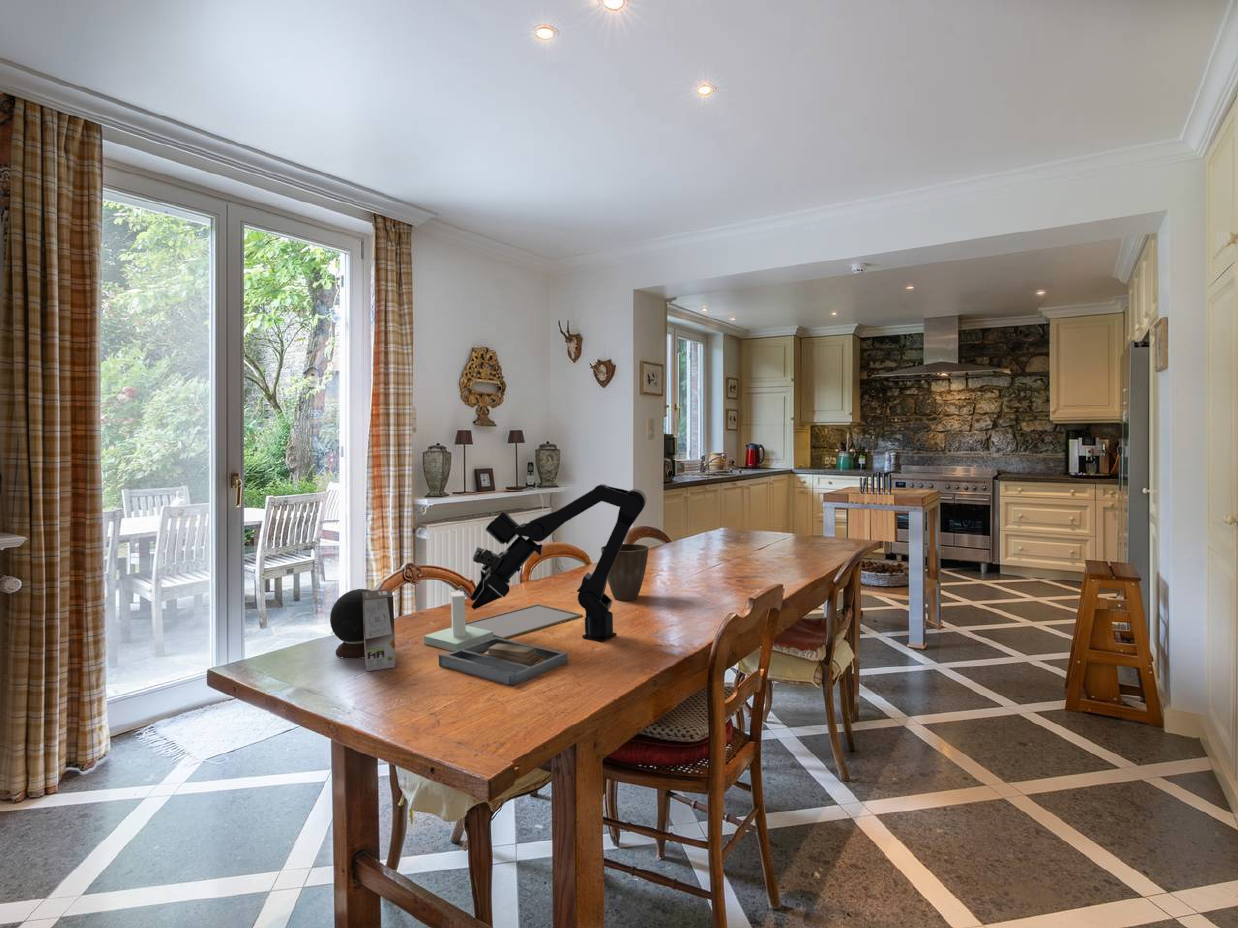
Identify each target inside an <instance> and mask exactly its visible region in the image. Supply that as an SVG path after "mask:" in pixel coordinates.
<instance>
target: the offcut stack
mask: <svg viewBox="0 0 1238 928" xmlns="http://www.w3.org/2000/svg"><path fill="white" fill-rule="evenodd" d="M482 654H483V655H487V656H491V657H495V658H499V659H503V660H507V661H511V662H515V663H519V664H523V665H527V666H533V665H534V664H535V663H536V662H537V663H539V662H540V657H536V651H535V647H526V646H517V645H508V644H499V643H497V644H495V645H493V646H491V647H489V648H488V650H486V651H484V653H482ZM538 661H539V662H538ZM537 663H536V664H537ZM536 664H535V665H536Z"/></svg>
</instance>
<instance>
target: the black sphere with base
mask: <svg viewBox="0 0 1238 928" xmlns="http://www.w3.org/2000/svg"><path fill="white" fill-rule="evenodd" d="M367 591H372V590H370V589H365V588H358V589H357V588H356V589H353V590H350V591H347V592H345V593H344V594H342V595H341V596H339V598H338V599H337V600H336V601H335V602H334V604H333V606H332V608H331V611H330V616H329V622H330V627H331V630H332V633H334V635H335V636H336V637H337V638H338V639H339V640H340V641H342V643H340V644H339V645H338V647H337V648H336V650H335V656H336V655H337V656H339V657H343V658H342V659H345V658H357V659H363V658H362V657H365V649H364V624H363V592H367ZM337 656H336V657H337ZM339 657H338V658H339Z"/></svg>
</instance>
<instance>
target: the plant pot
mask: <svg viewBox="0 0 1238 928" xmlns="http://www.w3.org/2000/svg"><path fill="white" fill-rule="evenodd" d="M605 546H606V545H603V546H601V547H600V549H601V550H600V551H601V554H602V553H603V551H604V549H605ZM648 555H649V546H648V545H644V544H637V543H623V544H622V546H621V549H620V551H619V553H618V555H617V557H616V559H615V562H614V564H613V566H612V568H611V570H610V572H609V575H608V579H607V584H608V586H609V588H610V591H611V592H610V593H611V594H612V597H613V599H614V600H617V601H623V602H624V601H626V602H627V601H633V600H637V599H638V597H639V594H640V592H641V588H642V586H643V585H642V584H643V583H644V582H643V581H644V579H645V575H646V574H645V573H646V568H647V563H648Z"/></svg>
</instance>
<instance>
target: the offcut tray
mask: <svg viewBox="0 0 1238 928" xmlns="http://www.w3.org/2000/svg"><path fill="white" fill-rule="evenodd" d="M497 643H499V644H508V645H517V646H526V647H535V651H536V656H538V657H539V658H541V657H542V659H545V658H546V659H545V660H543V661H541V662H540V661H539V662H537V663H536V664H535V665H533V666H527V665H523V664H519V663H515V662H511V661H507V660H503V659H499V658H495V657H491V656H487V655H483V654H484V653H482V652H487V651H488V648H489V647H491V646H493V645H495V644H497ZM568 654H569V653H567V652H563V651H560V650H555V649H550V648H546V647H543V646H542V647H541V646H537V645H532V644H529V643H524V642H521V641H520V642H519V641H515V640H511V639H502V638H498V637H494V638H491V639H489V640H486V641H483V642H480V643H477V644H474V645H471V646H468V647H465V648H462V649H460V650H457V651H452V652H449V653H439V654H438V666H439V667H441V668H442V667H443V668H447V669H449V670H453V671H457V672H461V673H464V674H467V675H468V674H469V675H472V676H475V677H478V678H482V679H485V680H489V681H492V682H495V683H496V682H497V683H499V684H503V685H506V686H511V687H514V686H516V685H518V684H521V683H523V682H525V680H526V681H528V680H531V679H532V678H534V677H537V676H540V675H541V674H544V673H547V672H548V671H551V670H553V669H555V668H557V666H558V667H560V666H562V665H564V663H565V664H567V663H568V662H569V661H568V660H569V656H568ZM566 662H567V663H566ZM527 679H528V680H527Z"/></svg>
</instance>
